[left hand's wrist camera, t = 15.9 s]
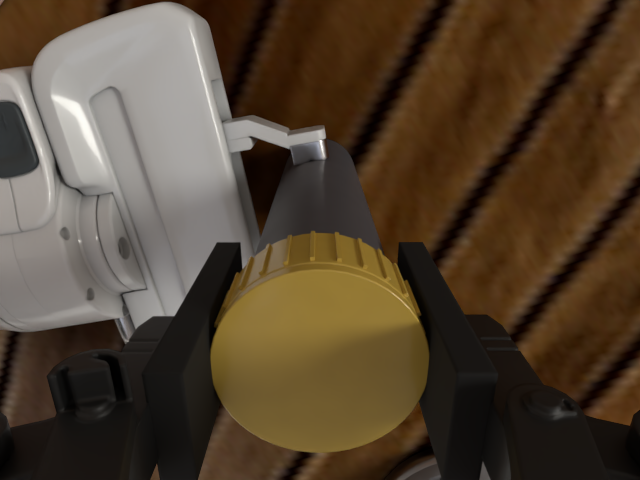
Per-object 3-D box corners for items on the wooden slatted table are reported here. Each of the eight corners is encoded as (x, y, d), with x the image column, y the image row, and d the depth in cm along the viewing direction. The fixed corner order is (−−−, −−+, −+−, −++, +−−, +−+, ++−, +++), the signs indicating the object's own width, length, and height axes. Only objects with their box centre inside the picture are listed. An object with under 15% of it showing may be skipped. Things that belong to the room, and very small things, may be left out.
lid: (195, 260, 12) (168, 303, 10) (388, 204, 11) (405, 237, 9) (262, 410, 14) (252, 474, 12) (431, 368, 13) (453, 428, 11)
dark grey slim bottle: (342, 128, 28) (385, 245, 10) (362, 194, 30) (431, 401, 12) (274, 151, 29) (196, 302, 10) (298, 215, 30) (265, 444, 12)
